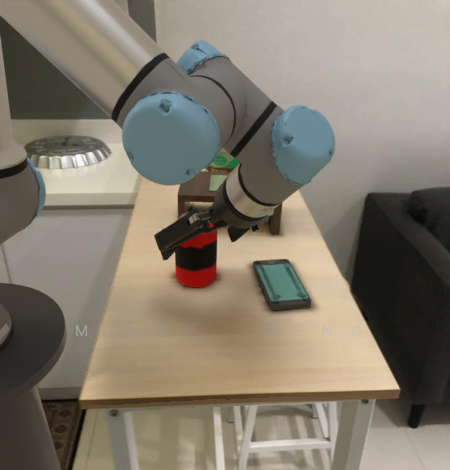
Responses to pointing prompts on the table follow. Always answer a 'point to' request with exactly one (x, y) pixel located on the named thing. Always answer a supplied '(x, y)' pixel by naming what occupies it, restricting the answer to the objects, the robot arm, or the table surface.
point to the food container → (223, 162)
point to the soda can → (197, 260)
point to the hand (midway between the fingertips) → (197, 243)
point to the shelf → (212, 194)
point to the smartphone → (281, 284)
